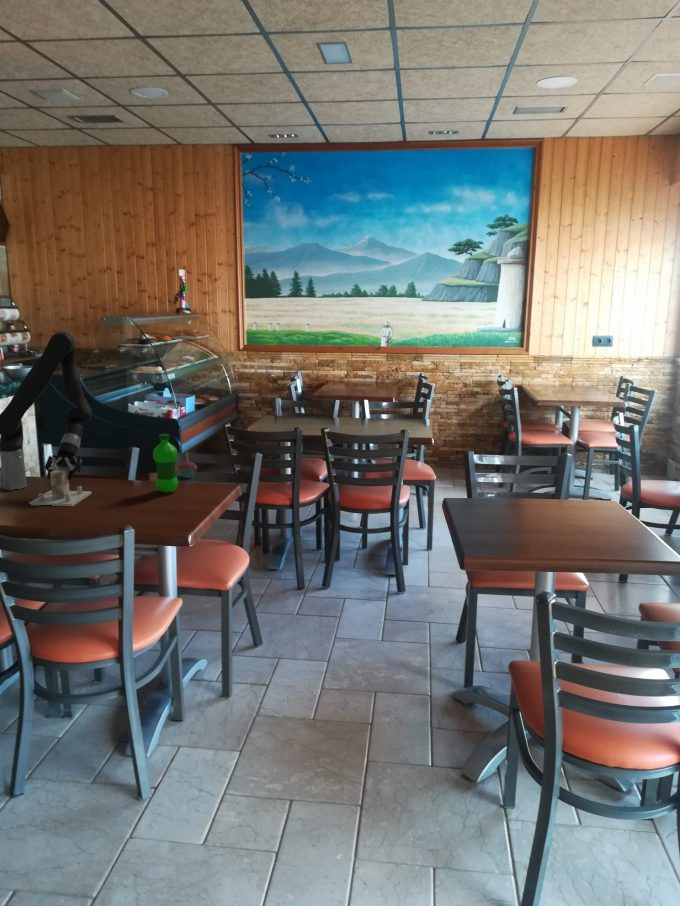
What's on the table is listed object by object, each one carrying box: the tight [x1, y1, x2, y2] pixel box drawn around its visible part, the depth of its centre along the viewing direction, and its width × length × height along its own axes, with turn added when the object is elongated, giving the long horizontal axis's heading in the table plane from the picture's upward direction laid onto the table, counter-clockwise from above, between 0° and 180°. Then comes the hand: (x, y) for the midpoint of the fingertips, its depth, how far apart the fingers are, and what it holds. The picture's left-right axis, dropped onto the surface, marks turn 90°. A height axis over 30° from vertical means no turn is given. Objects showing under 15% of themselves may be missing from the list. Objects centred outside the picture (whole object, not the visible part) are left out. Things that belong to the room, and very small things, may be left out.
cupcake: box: [178, 452, 198, 479], centre depth 317 cm, size 9×8×12 cm
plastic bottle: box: [152, 433, 179, 493], centre depth 291 cm, size 10×10×25 cm
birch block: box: [50, 469, 71, 499], centre depth 281 cm, size 5×5×11 cm
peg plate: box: [28, 485, 93, 507], centre depth 282 cm, size 18×18×4 cm
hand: (59, 479), depth 280 cm, fingers open, 8 cm apart
